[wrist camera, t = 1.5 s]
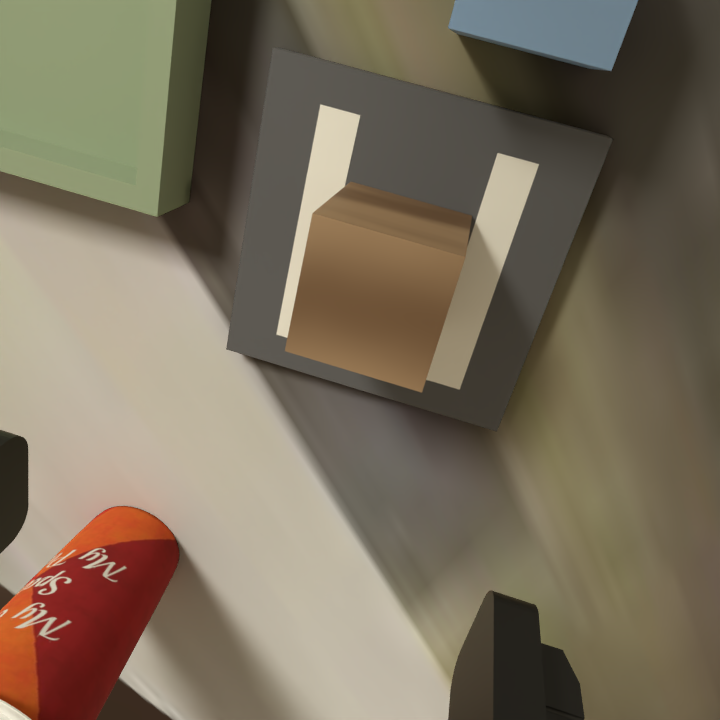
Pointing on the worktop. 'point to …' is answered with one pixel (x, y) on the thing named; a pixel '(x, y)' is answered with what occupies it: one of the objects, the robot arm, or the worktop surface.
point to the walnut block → (377, 284)
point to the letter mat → (423, 183)
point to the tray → (103, 96)
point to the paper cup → (83, 617)
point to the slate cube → (549, 27)
